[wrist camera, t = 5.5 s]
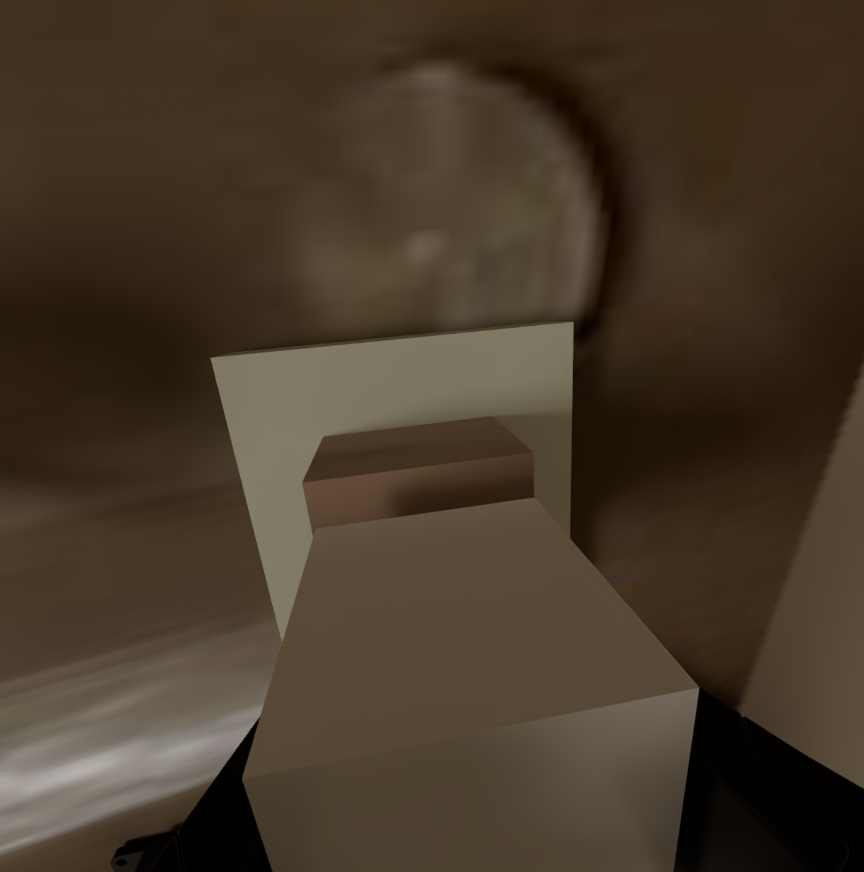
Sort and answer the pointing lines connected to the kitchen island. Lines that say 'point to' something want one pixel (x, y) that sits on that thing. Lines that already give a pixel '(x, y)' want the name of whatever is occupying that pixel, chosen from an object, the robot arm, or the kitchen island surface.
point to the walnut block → (416, 471)
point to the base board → (387, 416)
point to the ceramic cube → (468, 707)
